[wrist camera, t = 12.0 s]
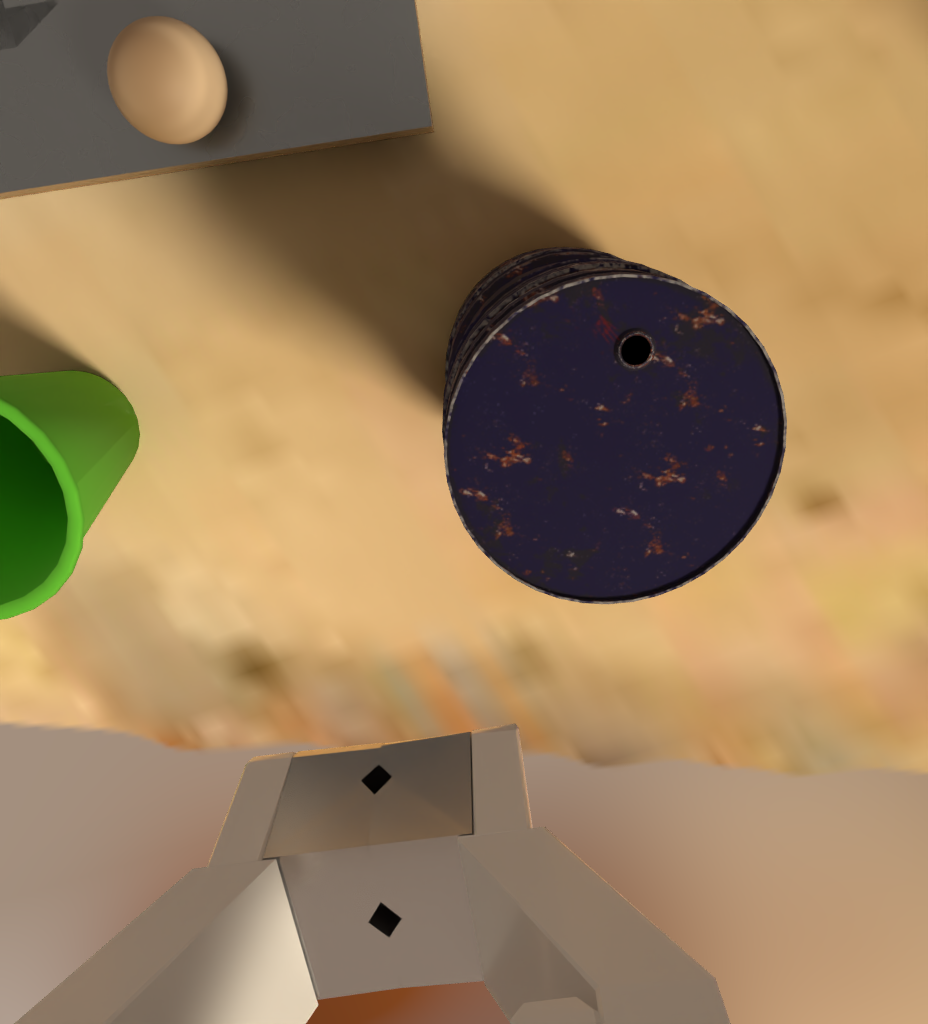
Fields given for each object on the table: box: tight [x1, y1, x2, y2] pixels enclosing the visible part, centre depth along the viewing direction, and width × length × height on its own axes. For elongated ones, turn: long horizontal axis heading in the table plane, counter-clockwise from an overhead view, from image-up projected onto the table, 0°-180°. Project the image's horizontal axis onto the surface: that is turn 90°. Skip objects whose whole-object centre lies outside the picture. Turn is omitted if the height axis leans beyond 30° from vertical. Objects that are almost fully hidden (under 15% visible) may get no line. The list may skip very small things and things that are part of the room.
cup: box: [0, 370, 140, 620], centre depth 32 cm, size 9×9×11 cm
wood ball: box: [107, 16, 228, 144], centre depth 28 cm, size 4×4×4 cm
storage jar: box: [442, 247, 787, 604], centre depth 29 cm, size 10×10×15 cm
